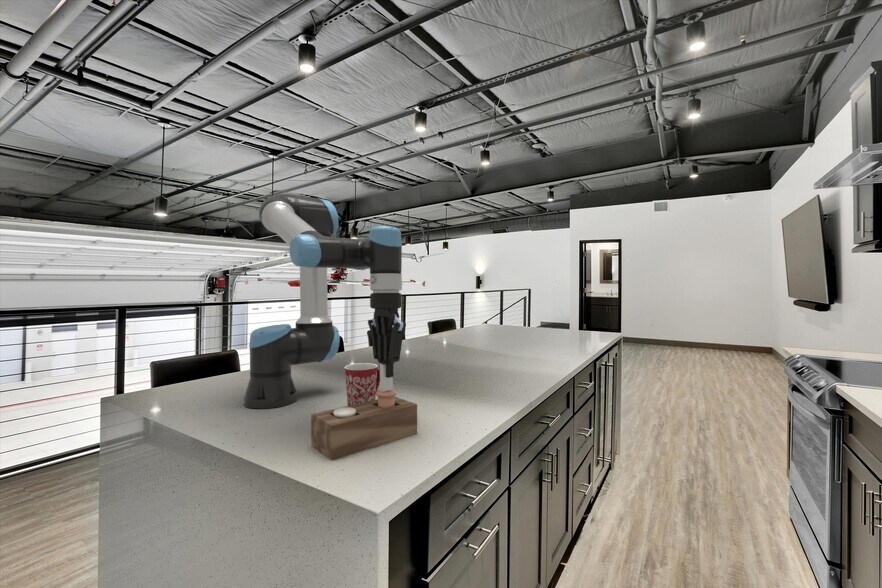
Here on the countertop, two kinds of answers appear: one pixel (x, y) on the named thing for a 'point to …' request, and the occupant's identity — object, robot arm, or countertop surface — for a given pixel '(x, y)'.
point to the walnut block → (362, 427)
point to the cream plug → (344, 412)
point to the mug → (361, 382)
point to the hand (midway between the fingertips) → (386, 390)
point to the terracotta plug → (386, 398)
